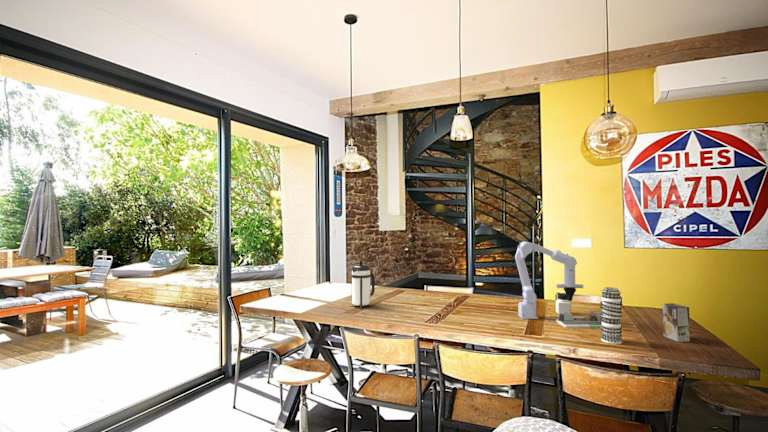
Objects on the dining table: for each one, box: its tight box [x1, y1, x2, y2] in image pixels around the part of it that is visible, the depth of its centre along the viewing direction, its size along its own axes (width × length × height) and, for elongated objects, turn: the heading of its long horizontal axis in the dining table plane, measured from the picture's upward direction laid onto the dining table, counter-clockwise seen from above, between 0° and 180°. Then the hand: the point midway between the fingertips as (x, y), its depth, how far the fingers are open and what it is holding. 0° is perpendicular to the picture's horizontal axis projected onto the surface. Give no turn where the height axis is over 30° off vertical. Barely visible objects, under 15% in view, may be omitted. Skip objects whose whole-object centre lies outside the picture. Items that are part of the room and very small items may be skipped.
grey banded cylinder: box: [599, 286, 623, 345], centre depth 182 cm, size 9×9×25 cm
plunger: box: [559, 312, 577, 322], centre depth 210 cm, size 8×5×4 cm, turn 89°
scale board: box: [555, 310, 602, 329], centre depth 210 cm, size 20×12×6 cm, turn 89°
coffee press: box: [350, 260, 376, 310], centre depth 256 cm, size 17×16×30 cm
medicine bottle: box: [555, 292, 572, 315], centre depth 235 cm, size 7×7×12 cm
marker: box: [584, 312, 595, 321], centre depth 210 cm, size 3×5×4 cm, turn 179°
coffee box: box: [662, 302, 691, 343], centre depth 185 cm, size 9×6×16 cm
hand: (569, 300), depth 222 cm, fingers closed
